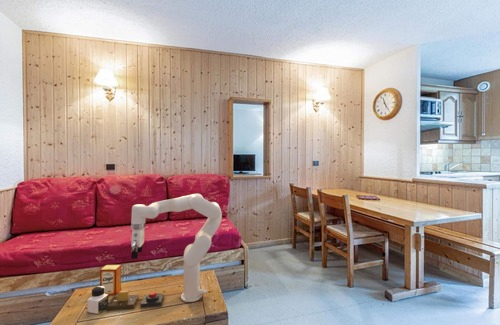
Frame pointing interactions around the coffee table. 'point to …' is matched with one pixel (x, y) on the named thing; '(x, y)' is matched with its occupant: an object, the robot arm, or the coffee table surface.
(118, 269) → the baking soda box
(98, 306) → the medicine bottle
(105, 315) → the coffee table surface
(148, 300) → the box
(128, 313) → the coffee table surface
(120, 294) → the orange block red tip
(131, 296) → the plate
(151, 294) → the door button
